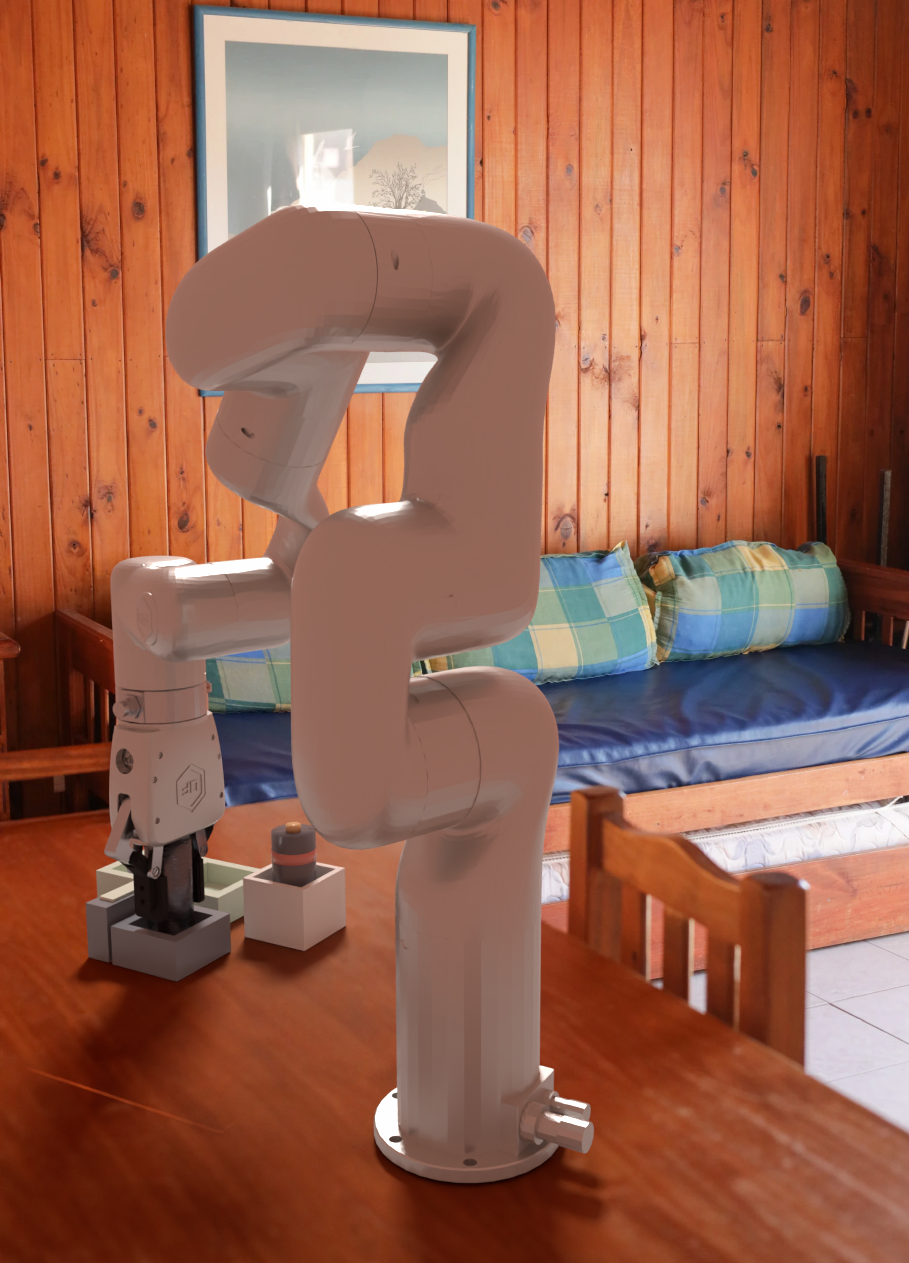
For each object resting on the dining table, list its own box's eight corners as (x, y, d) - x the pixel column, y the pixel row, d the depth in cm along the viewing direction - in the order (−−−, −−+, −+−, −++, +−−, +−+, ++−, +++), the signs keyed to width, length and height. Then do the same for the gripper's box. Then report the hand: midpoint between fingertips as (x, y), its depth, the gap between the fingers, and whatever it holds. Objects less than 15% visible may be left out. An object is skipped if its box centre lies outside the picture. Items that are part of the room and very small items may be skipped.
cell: (204, 935, 119) (200, 830, 117) (174, 951, 115) (169, 843, 113) (169, 926, 120) (165, 823, 119) (138, 942, 117) (133, 836, 115)
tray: (271, 900, 131) (270, 871, 131) (219, 929, 124) (217, 898, 124) (153, 874, 138) (152, 846, 138) (97, 899, 132) (96, 870, 131)
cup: (345, 925, 125) (344, 819, 123) (304, 951, 119) (301, 840, 118) (287, 912, 128) (285, 809, 126) (244, 936, 123) (241, 829, 121)
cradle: (231, 951, 119) (229, 894, 119) (177, 981, 113) (174, 922, 112) (144, 929, 124) (141, 875, 123) (87, 957, 118) (84, 900, 117)
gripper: (126, 730, 105) (136, 952, 108) (258, 688, 119) (264, 885, 123) (55, 719, 109) (67, 934, 112) (192, 680, 123) (199, 871, 126)
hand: (170, 906), depth 117 cm, fingers closed on cell, 4 cm apart
